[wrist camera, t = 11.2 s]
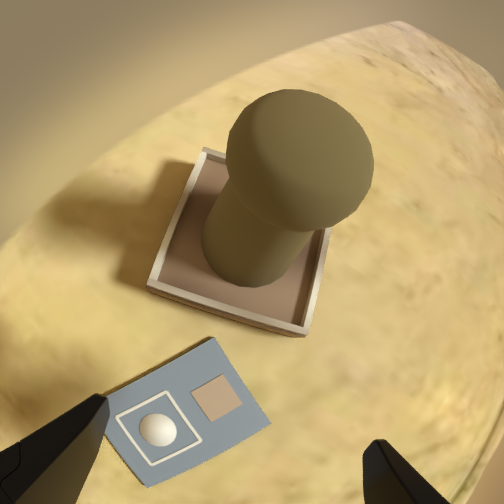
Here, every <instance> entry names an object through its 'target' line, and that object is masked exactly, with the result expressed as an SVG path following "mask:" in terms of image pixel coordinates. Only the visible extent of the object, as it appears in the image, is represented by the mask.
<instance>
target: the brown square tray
mask: <svg viewBox="0 0 504 504" xmlns="http://www.w3.org/2000/svg"><path fill="white" fill-rule="evenodd" d="M225 159H226V154H225V153H222V152H218V151H215V150H212V149H209V148H206V147H203V149H202V151H201V153H200V155H199V157H198V159H197V162H196V164H195V166H194V168H193V170H192V173H191V175H190V177H189V179H188V181H187V184H186V186H185V188H184V191H183V193H182V195H181V197H180V200H179V202H178V205H177V207H176V209H175V212H174V214H173V216H172V219H171V221H170V224H169V226H168V229H167V231H166V234H165V236H164V239H163V241H162V244H161V247H160V249H159V252H158V254H157V257H156V260H155V262H154V265H153V268H152V270H151V273H150V276H149V279H148V282H147V285H146V288H147V289H148V290H149V291H150V292H152V293H154V294H157V295H160V296H163V297H166V298H168V299H171V300H174V301H177V302H180V303H183V304H186V305H189V306H192V307H195V308H198V309H201V310H204V311H207V312H210V313H213V314H216V315H219V316H222V317H226V318H229V319H232V320H235V321H239V322H242V323H245V324H248V325H252V326H255V327H259V328H262V329H266V330H269V331H273V332H276V333H280V334H283V335H287V336H291V337H294V338H297V337H305V336H306V335H308V333H309V329H310V325H311V321H312V316H313V312H314V308H315V304H316V299H317V295H318V291H319V286H320V282H321V277H322V272H323V268H324V263H325V258H326V253H327V248H328V243H329V238H330V233H331V227H329V228H325V229H320V230H315V231H314V233H313V234H312V236H311V237H310V239H309V240H308V242H307V243H306V244H305V246H304V247H303V249H302V250H301V252H300V253H299V254H298V256H297V257H296V259H295V260H294V262H293V263H292V264H291V266H290V267H289V268H288V270H287V271H286V272H285V273H284V275H283V276H282V277H281V278H279V279H277V280H276V281H274V282H273V283H271V284H269V285H265V286H261V287H257V288H250V287H239V286H237V285H234V284H232V283H230V282H227V281H225V280H224V279H222V278H221V277H220V276H219V275H218V274H217V273H215V272H214V271H213V270H212V268H211V267H210V265H209V263H208V262H207V260H206V258H205V257H204V253H203V248H202V244H201V237H202V228H203V225H204V223H205V221H206V219H207V217H208V215H209V213H210V211H211V209H212V207H213V206H214V204H215V202H216V200H217V198H218V197H219V195H220V193H221V191H222V189H223V188H224V186H225V184H226V182H227V180H228V179H229V174H228V170H227V166H226V162H225Z"/></svg>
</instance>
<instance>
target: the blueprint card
mask: <svg viewBox="0 0 504 504" xmlns="http://www.w3.org/2000/svg"><path fill="white" fill-rule="evenodd" d="M106 397H107V398H108V401H109V408H110V417H109V420H108V423H107V426H106V429H105V435H106V436H107V438H108V439H109V440H110V442H111V443H112V445H113V446H114V447H115V449H116V450H117V451H118V453H119V454H120V455H121V457H122V458H123V459H124V461H125V462H126V463H127V464H128V466H129V467H130V468H131V469H132V471H133V472H134V473H135V474H136V476H137V477H138V478H139V479H140V480H141V482H142V483H143V484H144V485H145V486H146V487H147V488H148V487H151V486H153V485H156V484H158V483H161V482H163V481H165V480H167V479H170V478H172V477H174V476H176V475H178V474H181V473H183V472H185V471H187V470H189V469H191V468H193V467H195V466H197V465H199V464H201V463H203V462H205V461H207V460H209V459H211V458H213V457H215V456H217V455H218V454H220V453H222V452H224V451H226V450H228V449H229V448H231V447H233V446H235V445H236V444H238V443H240V442H242V441H243V440H245V439H247V438H248V437H250V436H252V435H253V434H255V433H257V432H258V431H260V430H261V429H263V428H265V427H266V426H268V425H269V424H271V422H270V421H269V419H268V418H267V417H266V415H265V414H264V412H263V411H262V409H261V408H260V407H259V405H258V404H257V402H256V401H255V399H254V398H253V396H252V395H251V393H250V392H249V390H248V389H247V387H246V386H245V384H244V383H243V381H242V380H241V378H240V377H239V375H238V374H237V372H236V371H235V369H234V368H233V366H232V364H231V363H230V361H229V360H228V358H227V357H226V355H225V354H224V352H223V350H222V349H221V347H220V346H219V344H218V342H217V341H216V339H215V337H213V338H211V339H210V340H208V341H206V342H205V343H203V344H201V345H199V346H198V347H196V348H194V349H192V350H191V351H189V352H187V353H185V354H184V355H182V356H180V357H178V358H177V359H175V360H173V361H171V362H169V363H168V364H166V365H164V366H162V367H160V368H158V369H157V370H155V371H153V372H151V373H149V374H147V375H146V376H144V377H142V378H140V379H138V380H136V381H134V382H132V383H131V384H129V385H127V386H125V387H123V388H121V389H119V390H117V391H115V392H113V393H111V394H109V395H107V396H106Z"/></svg>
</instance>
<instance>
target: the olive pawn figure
mask: <svg viewBox="0 0 504 504" xmlns="http://www.w3.org/2000/svg"><path fill="white" fill-rule="evenodd" d="M225 162H226V166H227V170H228V174H229V179H228V180H227V182H226V184H225V186H224V188H223V189H222V191H221V193H220V195H219V197H218V198H217V200H216V202H215V204H214V206H213V207H212V209H211V211H210V213H209V215H208V217H207V219H206V221H205V223H204V225H203V228H202V237H201V244H202V248H203V253H204V257H205V258H206V260H207V262H208V263H209V265H210V267H211V268H212V270H213V271H214V272H215V273H217V274H218V275H219V276H220V277H221V278H222V279H224V280H225V281H227V282H230V283H232V284H234V285H237V286H239V287H250V288H257V287H261V286H265V285H269V284H271V283H273V282H274V281H276V280H277V279H279V278H281V277H282V276H283V275H284V273H285V272H286V271H287V270H288V268H289V267H290V266H291V264H292V263H293V262H294V260H295V259H296V257H297V256H298V254H299V253H300V252H301V250H302V249H303V247H304V246H305V244H306V243H307V242H308V240H309V239H310V237H311V236H312V234H313V233H314V231H315V230H320V229H325V228H329V227H332V226H334V225H335V224H337V223H338V222H340V221H342V220H343V219H345V218H346V217H348V216H349V215H351V214H352V213H353V212H354V211H356V209H357V208H358V206H359V205H360V203H361V202H362V200H363V199H364V197H365V196H366V194H367V192H368V191H369V189H370V187H371V182H372V176H373V170H374V159H373V153H372V148H371V144H370V142H369V140H368V138H367V136H366V134H365V132H364V130H363V128H362V127H361V126H360V124H359V123H358V122H357V121H356V120H355V118H354V117H353V116H352V115H351V114H350V113H349V112H347V111H346V110H345V109H344V108H342V107H341V106H340V105H338V104H337V103H336V102H334V101H332V100H330V99H328V98H326V97H324V96H322V95H319V94H316V93H312V92H308V91H304V90H292V89H283V90H279V91H275V92H272V93H268V94H266V95H264V96H262V97H260V98H258V99H257V100H255V101H254V102H252V103H251V104H250V105H248V106H247V107H245V108H244V110H243V111H242V113H241V114H240V115H239V117H238V118H237V120H236V122H235V123H234V125H233V127H232V128H231V130H230V132H229V137H228V142H227V150H226V159H225Z"/></svg>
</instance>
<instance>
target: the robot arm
mask: <svg viewBox="0 0 504 504" xmlns="http://www.w3.org/2000/svg"><path fill="white" fill-rule="evenodd" d="M109 417H110V408H109V401H108V398H107V397H106V396H103V395H101V394H98V393H96V394H93V395H92V396H90V397H89V398H87V399H86V400H84V401H83V402H81V403H80V404H78V405H76V406H75V407H73V408H72V409H70V410H69V411H67V412H65V413H64V414H62V415H61V416H59V417H58V418H56V419H54V420H53V421H51V422H50V423H48V424H46V425H45V426H43V427H42V428H40V429H38V430H37V431H35V432H33V433H32V434H30V435H29V436H27V437H25V438H24V439H22V440H20V442H17V443H15V444H14V445H12V446H10V447H8V448H6V449H5V450H3V451H1V452H0V504H76V501H77V499H78V497H79V494H80V492H81V490H82V488H83V485H84V483H85V481H86V479H87V476H88V474H89V472H90V470H91V468H92V465H93V463H94V461H95V459H96V457H97V454H98V451H99V448H100V445H101V442H102V439H103V436H104V433H105V429H106V426H107V423H108V420H109ZM362 459H363V492H364V501H365V504H450V503H449V502H448V501H447V500H446V499H445V498H444V497H442V495H441V494H440V493H439V492H438V491H436V490H435V489H434V488H433V487H432V486H431V485H430V484H429V483H428V482H427V481H426V480H425V479H424V478H423V477H422V476H421V475H420V474H419V473H418V472H417V471H416V470H415V469H414V468H413V467H412V466H411V465H410V464H409V463H408V462H407V461H406V460H405V459H404V458H403V457H402V456H401V455H400V454H399V453H398V452H397V451H396V450H395V449H394V448H393V447H392V446H391V445H390V444H389V443H388V442H387V441H386V440H385V439H376V440H374V441H373V442H372V443H371V444H370V445H369V446H368V448H367V449H366V450H365V451H364V453H363V457H362Z"/></svg>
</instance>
